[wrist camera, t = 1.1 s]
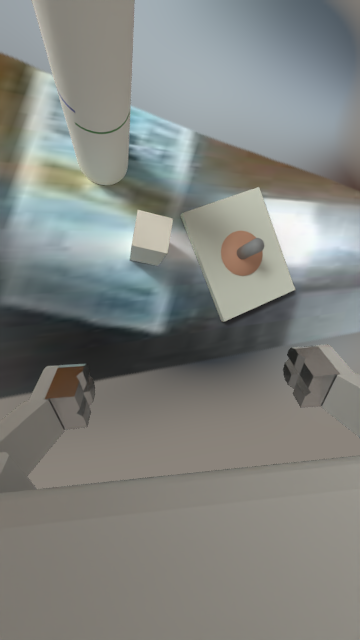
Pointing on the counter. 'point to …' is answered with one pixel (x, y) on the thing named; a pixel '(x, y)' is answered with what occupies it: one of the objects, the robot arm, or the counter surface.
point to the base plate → (210, 259)
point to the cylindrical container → (92, 78)
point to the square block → (150, 238)
